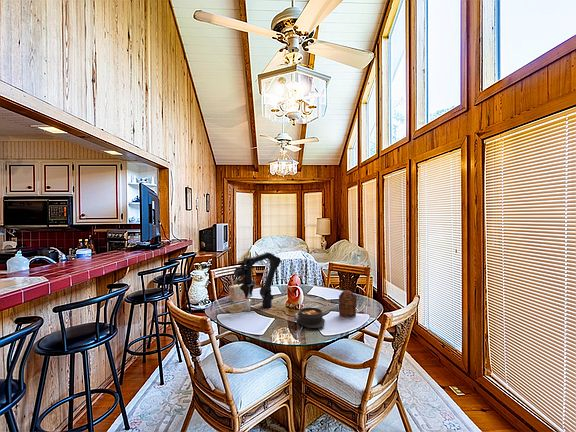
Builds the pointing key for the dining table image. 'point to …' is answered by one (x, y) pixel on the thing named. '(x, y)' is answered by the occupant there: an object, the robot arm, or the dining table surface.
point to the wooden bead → (235, 308)
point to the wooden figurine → (347, 304)
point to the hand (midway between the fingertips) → (248, 296)
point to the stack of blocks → (236, 293)
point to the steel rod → (248, 305)
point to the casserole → (311, 317)
